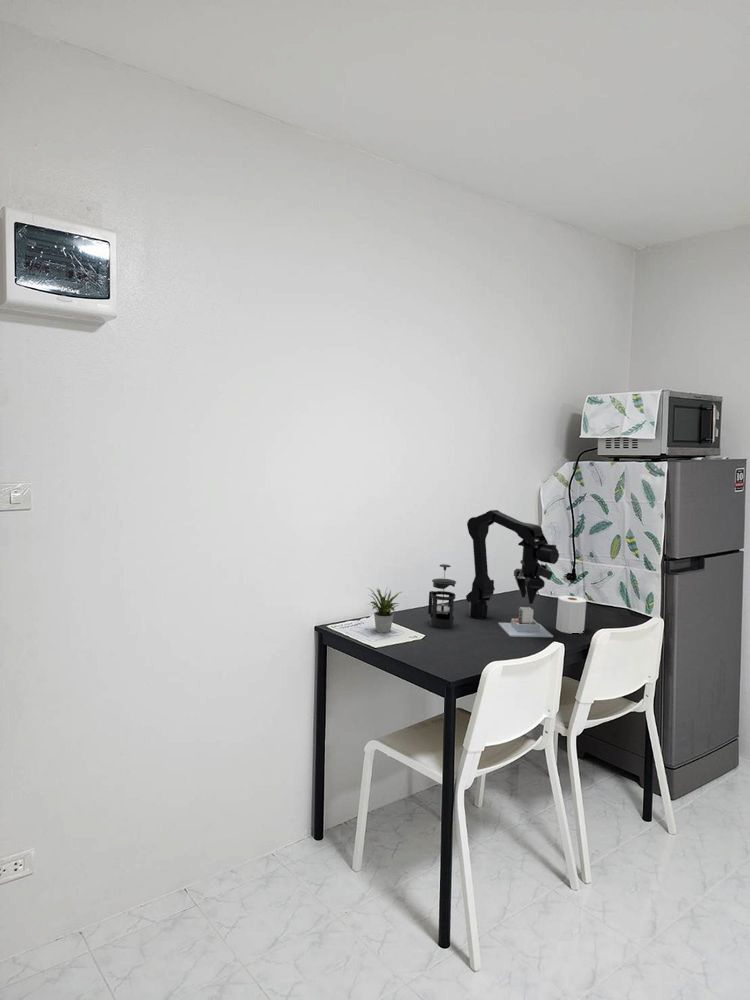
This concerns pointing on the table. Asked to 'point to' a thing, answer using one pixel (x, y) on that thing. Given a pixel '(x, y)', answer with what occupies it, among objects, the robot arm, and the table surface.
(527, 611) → the column
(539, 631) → the stand base
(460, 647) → the table surface
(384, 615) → the house plant
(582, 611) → the toilet paper
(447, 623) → the french press
